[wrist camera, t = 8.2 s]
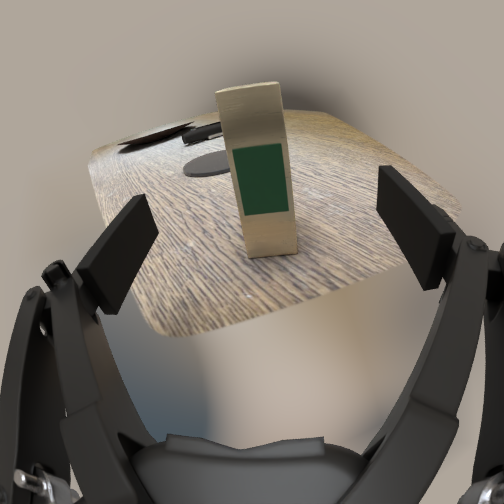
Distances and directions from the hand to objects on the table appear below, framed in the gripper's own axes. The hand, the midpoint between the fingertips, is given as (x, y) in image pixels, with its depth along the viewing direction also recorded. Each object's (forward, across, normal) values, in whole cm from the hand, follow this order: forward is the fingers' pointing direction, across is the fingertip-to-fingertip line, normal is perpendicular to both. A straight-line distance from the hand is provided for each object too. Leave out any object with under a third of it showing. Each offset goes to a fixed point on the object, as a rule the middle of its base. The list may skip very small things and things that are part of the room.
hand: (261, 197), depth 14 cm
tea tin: (+7, 0, -7) cm, 10 cm away
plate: (+75, -38, -7) cm, 84 cm away
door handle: (+60, -15, -7) cm, 63 cm away
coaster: (+31, -9, -7) cm, 33 cm away
